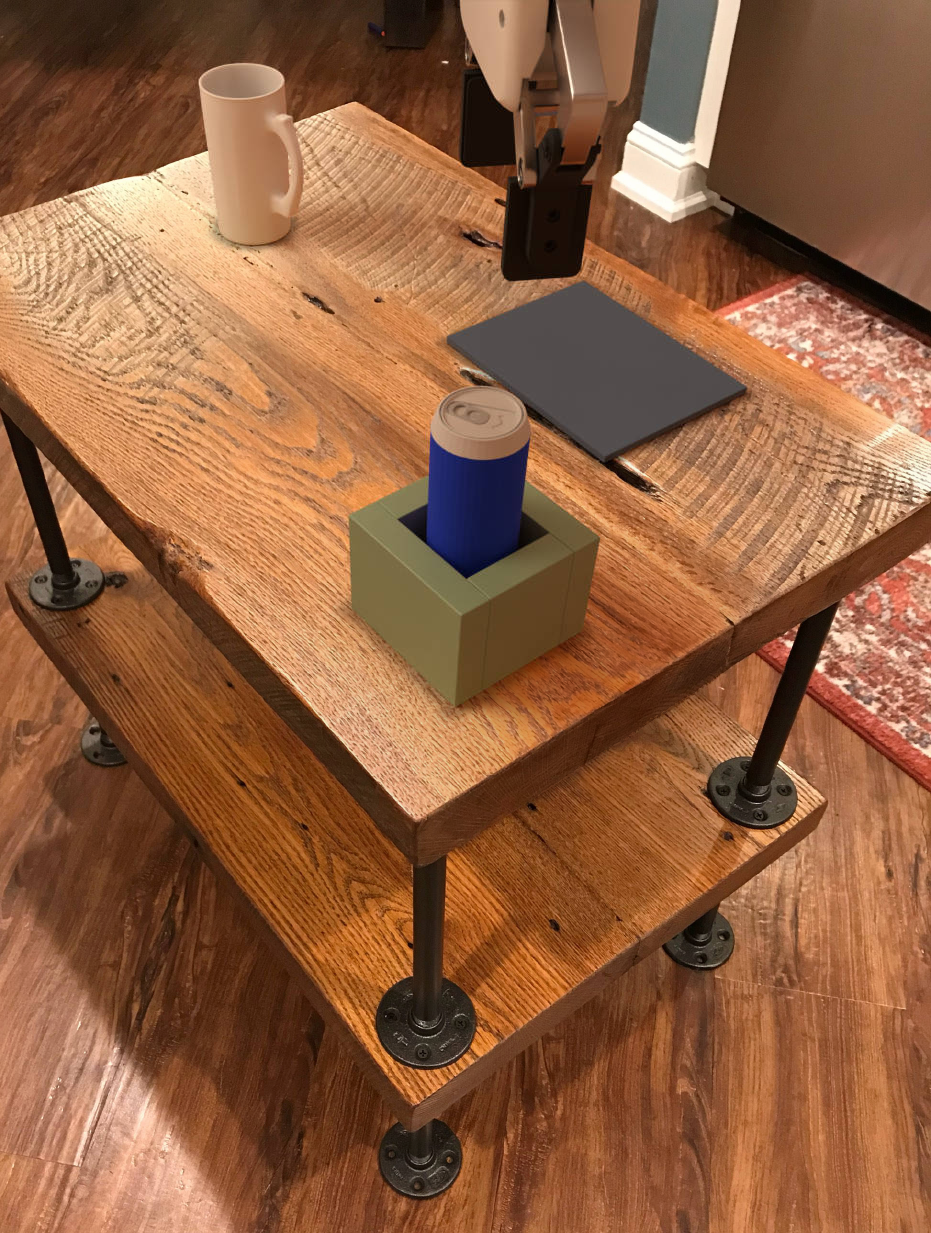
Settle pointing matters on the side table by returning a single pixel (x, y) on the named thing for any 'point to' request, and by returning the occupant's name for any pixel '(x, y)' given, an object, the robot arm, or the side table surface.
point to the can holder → (469, 591)
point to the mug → (251, 152)
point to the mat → (596, 369)
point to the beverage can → (476, 477)
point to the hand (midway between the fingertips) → (515, 215)
